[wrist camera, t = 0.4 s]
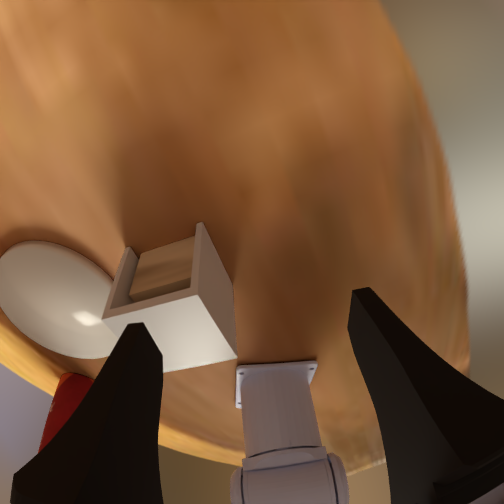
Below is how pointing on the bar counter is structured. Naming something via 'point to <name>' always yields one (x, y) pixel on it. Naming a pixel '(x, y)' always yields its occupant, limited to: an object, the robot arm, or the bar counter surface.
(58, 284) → the ceramic dish
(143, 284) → the maple block
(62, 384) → the paper cup
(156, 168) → the bar counter surface
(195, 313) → the grey open box
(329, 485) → the robot arm
